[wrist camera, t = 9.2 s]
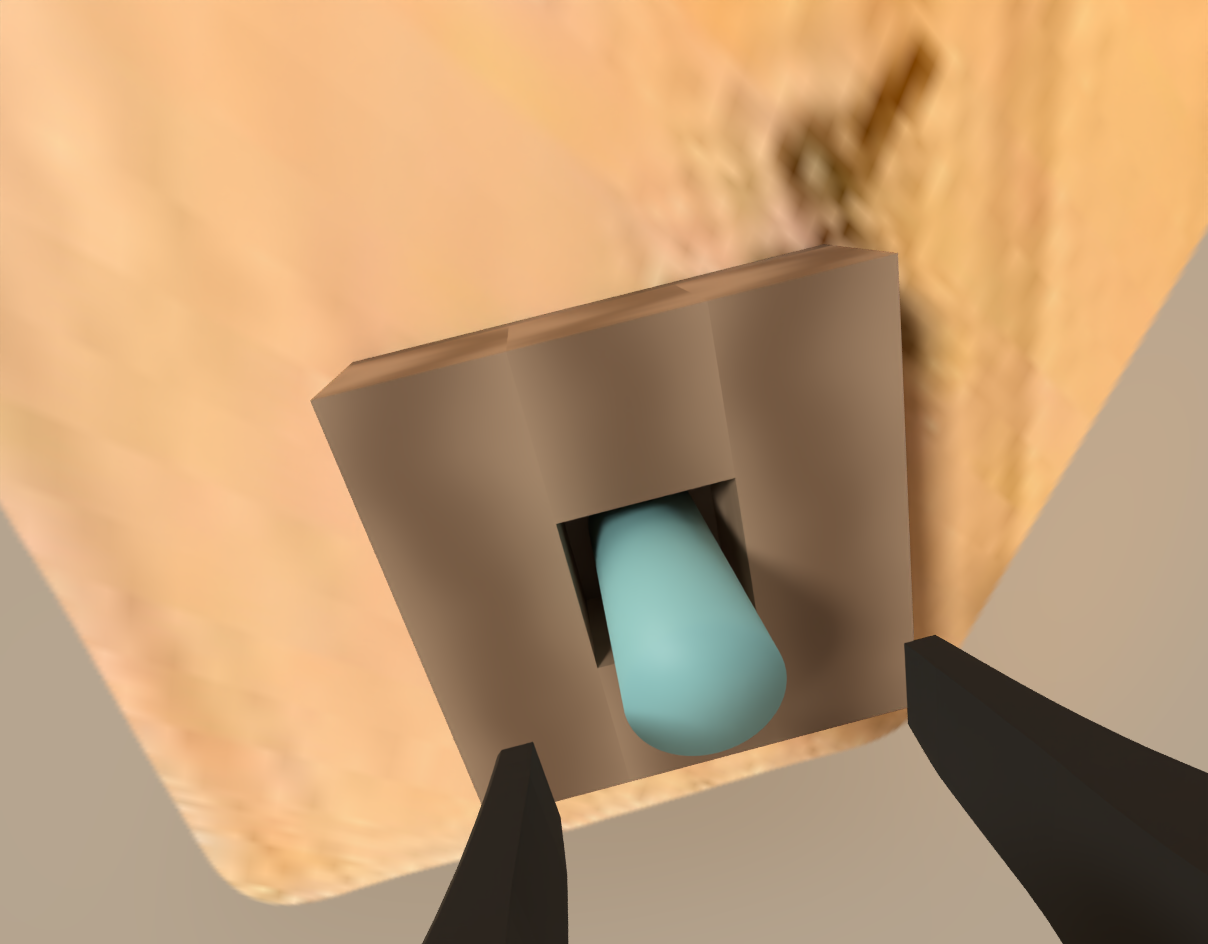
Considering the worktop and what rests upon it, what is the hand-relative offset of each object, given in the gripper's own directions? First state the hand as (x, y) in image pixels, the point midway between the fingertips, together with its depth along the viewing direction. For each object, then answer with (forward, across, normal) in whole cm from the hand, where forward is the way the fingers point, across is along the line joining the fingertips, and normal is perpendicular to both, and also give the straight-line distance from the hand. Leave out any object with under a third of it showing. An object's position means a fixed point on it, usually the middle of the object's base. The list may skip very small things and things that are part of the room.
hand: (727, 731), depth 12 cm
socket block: (+10, 0, 0) cm, 10 cm away
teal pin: (+9, 0, 0) cm, 9 cm away
